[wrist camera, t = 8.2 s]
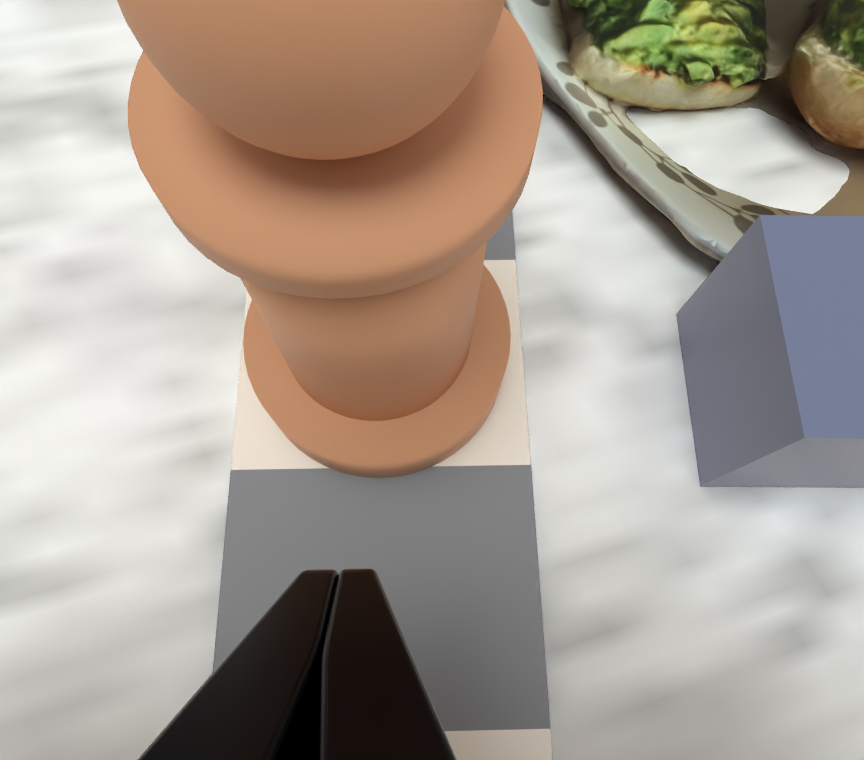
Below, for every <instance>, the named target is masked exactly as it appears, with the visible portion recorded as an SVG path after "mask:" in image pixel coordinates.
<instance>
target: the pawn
mask: <svg viewBox="0 0 864 760" xmlns="http://www.w3.org/2000/svg"><path fill="white" fill-rule="evenodd" d="M117 1H118V4H119V6H120V8H121V11H122V13H123V16H124V18H125V20H126V22H127V24H128V26H129V27H130V29H131V31H132V32H133V34H134V36H135V38H136V39H137V41H138V43H139V44H140V46H141V47H142V49H143V53H142V55H141V57H140V59H139V61H138V63H137V66H136V69H135V72H134V75H133V78H132V81H131V87H130V93H129V100H128V127H129V132H130V138H131V143H132V148H133V150H134V153H135V156H136V158H137V161H138V164H139V166H140V169H141V170H142V172H143V174H144V176H145V177H146V179H147V181H148V182H149V184H150V186H151V188H152V189H153V191H154V192H155V194H156V196H157V197H158V199H159V200H160V202H161V203H162V205H163V207H164V208H165V210H166V211H167V213H168V214H169V216H170V218H171V219H172V221H173V222H174V224H175V225H176V226H177V228H178V229H179V230H180V231H181V232H182V234H183V235H184V236H185V237H186V239H187V240H188V241H189V242H190V243H191V244H192V245H193V246H194V247H196V248H197V249H198V250H199V251H200V252H201V253H202V254H203V255H204V256H205V257H207V258H208V259H210V260H211V261H213V262H214V263H216V264H217V265H218V266H220V267H221V268H223V269H224V270H226V271H228V272H230V273H232V274H234V275H236V276H238V277H240V278H241V280H242V282H243V284H244V286H245V287H246V289H247V291H248V293H249V295H250V297H251V298H252V301H251V304H250V307H249V309H248V312H247V317H246V322H245V326H244V338H243V349H244V360H245V365H246V369H247V374H248V377H249V380H250V382H251V385H252V387H253V390H254V392H255V394H256V396H257V397H258V399H259V401H260V403H261V404H262V406H263V407H264V409H265V410H266V411H267V413H268V414H269V415H270V416H271V418H272V419H273V420H274V422H275V423H276V424H277V426H278V427H279V428H280V429H281V431H282V432H283V433H284V435H285V436H286V437H287V438H288V439H289V440H290V441H291V442H292V443H293V444H294V445H295V446H296V447H297V448H298V449H299V450H300V451H302V452H303V453H304V454H306V455H307V456H309V457H310V458H311V459H313V460H315V461H317V462H318V463H320V464H322V465H324V466H326V467H328V468H331V469H334V470H336V471H339V472H342V473H346V474H350V475H355V476H360V477H371V478H385V477H397V476H403V475H408V474H412V473H415V472H418V471H422V470H425V469H427V468H429V467H432V466H434V465H436V464H438V463H440V462H442V461H444V460H445V459H447V458H448V457H450V456H452V455H453V454H455V453H456V452H457V451H458V450H460V449H461V448H462V447H463V446H464V445H466V444H467V443H468V442H469V441H470V440H471V439H472V437H473V436H474V435H475V434H476V433H477V432H478V431H479V429H480V428H481V426H482V425H483V424H484V422H485V421H486V419H487V418H488V416H489V414H490V412H491V410H492V408H493V406H494V403H495V401H496V398H497V395H498V392H499V389H500V386H501V383H502V380H503V377H504V374H505V371H506V368H507V363H508V358H509V353H510V340H511V332H510V321H509V316H508V312H507V307H506V303H505V301H504V298H503V296H502V293H501V291H500V288H499V287H498V285H497V283H496V281H495V280H494V278H493V276H492V275H491V273H490V272H489V271H488V269H487V268H486V267H485V265H484V264H483V263H484V257H485V251H486V245H487V240H488V239H489V238H490V237H491V236H492V235H493V234H494V233H495V232H496V231H497V230H498V229H499V227H500V226H501V225H502V224H503V222H504V221H505V220H506V218H507V217H508V216H509V215H510V213H511V211H512V210H513V208H514V206H515V204H516V203H517V201H518V199H519V197H520V196H521V193H522V191H523V188H524V185H525V183H526V180H527V178H528V175H529V171H530V167H531V162H532V158H533V154H534V150H535V145H536V141H537V137H538V132H539V127H540V122H541V118H542V104H543V90H542V83H541V75H540V70H539V67H538V64H537V60H536V57H535V54H534V51H533V49H532V47H531V45H530V43H529V41H528V39H527V37H526V35H525V33H524V31H523V30H522V28H521V27H520V25H519V24H518V23H517V21H516V20H515V18H514V17H513V15H512V14H511V13H510V12H509V11H508V10H507V9H506V8H505V7H504V2H505V0H117Z"/></svg>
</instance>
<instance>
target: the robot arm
mask: <svg viewBox="0 0 864 760" xmlns="http://www.w3.org/2000/svg"><path fill="white" fill-rule="evenodd" d="M138 760H456V757H455V755H454V753H453V750H452V748H451V745H450V743H449V741H448V738H447V736H446V734H445V731H444V729H443V727H442V724H441V722H440V720H439V717H438V715H437V713H436V710H435V708H434V706H433V703H432V701H431V699H430V696H429V694H428V692H427V689H426V687H425V685H424V682H423V680H422V678H421V675H420V673H419V671H418V668H417V666H416V663H415V661H414V659H413V656H412V654H411V652H410V649H409V647H408V645H407V642H406V640H405V638H404V635H403V633H402V631H401V628H400V626H399V624H398V621H397V619H396V617H395V614H394V612H393V610H392V607H391V605H390V603H389V600H388V598H387V596H386V593H385V591H384V589H383V586H382V584H381V581H380V579H379V577H378V575H377V573H376V571H375V570H373V569H343V570H342V571H341V572H340V573H339V574H338V573H337V571H335V570H333V569H318V570H304V571H302V572H301V573H299V574H298V575H297V577H296V578H295V579H294V580H293V581H292V582H291V583H290V585H289V586H288V587H287V588H286V589H285V590H284V592H283V593H282V594H281V595H280V596H279V597H278V598H277V600H276V601H275V602H274V603H273V604H272V605H271V607H270V608H269V609H268V610H267V611H266V612H265V613H264V615H263V616H262V617H261V618H260V619H259V620H258V622H257V623H256V624H255V625H254V626H253V627H252V628H251V630H250V631H249V632H248V633H247V634H246V635H245V637H244V638H243V639H242V640H241V641H240V642H239V643H238V645H237V646H236V647H235V648H234V649H233V650H232V652H231V653H230V654H229V655H228V656H227V657H226V658H225V660H224V661H223V662H222V663H221V664H220V665H219V667H218V668H217V669H216V670H215V671H214V672H213V673H212V675H211V676H210V677H209V678H208V679H207V680H206V682H205V683H204V684H203V685H202V686H201V687H200V688H199V690H198V691H197V692H196V693H195V694H194V695H193V697H192V698H191V699H190V700H189V701H188V702H187V703H186V705H185V706H184V707H183V708H182V709H181V710H180V712H179V713H178V714H177V715H176V716H175V717H174V718H173V720H172V721H171V722H170V723H169V724H168V725H167V727H166V728H165V729H164V730H163V731H162V732H161V733H160V735H159V736H158V737H157V738H156V739H155V740H154V742H153V743H152V744H151V745H150V746H149V747H148V748H147V750H146V751H145V752H144V753H143V754H142V755H141V757H140V758H139V759H138Z"/></svg>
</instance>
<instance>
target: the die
mask: <svg viewBox="0 0 864 760" xmlns="http://www.w3.org/2000/svg"><path fill="white" fill-rule="evenodd" d="M676 315H677V322H678V330H679V337H680V344H681V351H682V358H683V366H684V373H685V380H686V387H687V394H688V402H689V409H690V416H691V423H692V430H693V437H694V445H695V452H696V459H697V466H698V473H699V481H700V486H705V487H834V488H864V216H806V215H759V217H758V218H757V219H756V220H755V221H754V223H753V224H752V225H751V226H750V227H749V229H748V230H747V231H746V232H745V233H744V235H743V236H742V237H741V238H740V239H739V240H738V242H737V243H736V244H735V245H734V246H733V248H732V249H731V250H730V251H729V252H728V254H727V255H726V256H725V257H724V258H723V260H722V261H721V262H720V263H719V264H718V266H717V267H716V268H715V269H714V270H713V271H712V273H711V274H710V275H709V276H708V277H707V279H706V280H705V281H704V282H703V283H702V285H701V286H700V287H699V288H698V289H697V291H696V292H695V293H694V294H693V295H692V296H691V298H690V299H689V300H688V301H687V302H686V304H685V305H684V306H683V307H682V308H681V310H680V311H679V312H678V313H677V314H676Z"/></svg>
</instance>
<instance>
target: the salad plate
mask: <svg viewBox="0 0 864 760" xmlns="http://www.w3.org/2000/svg"><path fill="white" fill-rule="evenodd" d="M504 7H505V8H506V9H507V10H508V11H509V12H510V13H511V14H512V15H513V17H514V18H515V20H516V21H517V23H518V24H519V25H520V27H521V28H522V30H523V31H524V33H525V35H526V37H527V39H528V41H529V43H530V45H531V47H532V49H533V51H534V54H535V57H536V60H537V64H538V67H539V70H540V75H541V83H542V90H543V94H544V95H545V96H546V97H548V98H549V99H550V100H551V101H553V102H554V103H556V104H557V105H559V106H560V107H562V108H563V109H564V110H565V111H566V112H567V113H568V114H569V115H570V116H571V117H572V118H573V119H574V121H575V122H576V123H577V124H578V125H579V127H580V128H581V129H582V130H583V131H584V132H585V133H586V134H587V136H588V137H589V138H590V140H591V141H592V142H593V144H594V145H595V147H596V148H597V150H598V151H599V152H600V153H601V154H602V155H603V156H604V157H605V158H606V160H607V161H608V163H609V164H610V166H611V167H612V168H613V170H614V171H615V172H616V173H617V174H618V175H619V176H620V177H622V178H623V179H624V180H625V181H626V182H627V183H628V184H629V185H630V186H631V187H632V188H633V189H634V190H635V191H637V192H638V193H639V194H640V195H641V196H642V197H644V198H645V199H646V200H647V201H648V202H649V203H651V204H652V205H653V206H654V207H655V208H657V209H658V210H659V211H660V212H662V213H663V214H664V215H665V216H666V217H667V218H668V219H669V220H671V221H672V223H673V224H674V225H675V226H676V227H677V228H678V229H679V230H680V232H681V233H682V234H683V236H684V237H685V238H686V239H687V240H688V241H689V242H690V243H691V244H692V245H693V246H694V247H696V248H697V249H699V250H700V251H702V252H704V253H705V254H707V255H709V256H711V257H713V258H715V259H717V260H719V261H722V260H723V258H724V257H725V256H726V255H727V254H728V252H729V251H730V250H731V249H732V248H733V246H734V245H735V244H736V243H737V242H738V240H739V239H740V238H741V237H742V236H743V235H744V233H745V232H746V231H747V230H748V229H749V227H750V226H751V225H752V224H753V223H754V221H755V220H756V219H757V218H758V217H759V215H806V216H864V0H505V2H504ZM631 106H635V107H644V108H647V109H649V110H651V111H656V112H658V111H668V110H672V109H677V110H698V109H706V108H715V107H721V106H722V107H735V108H757V109H760V110H763V111H765V112H766V113H768V114H770V115H772V116H775V117H777V118H779V119H781V120H784V121H786V122H788V123H791V124H794V125H796V126H798V127H799V128H800V129H802V130H804V131H807V133H808V135H809V137H810V140H811V143H812V144H811V146H812V147H814V148H815V149H816V150H818V151H820V152H822V153H825V154H828V155H830V156H833V157H835V158H838V159H840V160H842V161H843V162H845V163H846V165H847V166H848V168H849V170H850V173H849V177H848V180H847V182H846V183H845V184H844V185H842V187H841V189H840V191H839V192H838V193H837V194H836V196H835V197H834V198H832V199H831V200H830V201H829V202H828V203H827V204H826V205H825V206H823V207H822V208H821V209H820V210H819V211H818V212H816V213H814V214H807V213H801V212H795V211H789V210H783V209H777V208H772V207H768V206H765V205H761V204H758V203H755V202H752V201H750V200H748V199H746V198H743V197H741V196H738V195H735V194H732V193H729V192H727V191H724V190H721V189H718V188H716V187H714V186H713V185H711V184H709V183H707V182H705V181H704V180H702V179H700V178H699V177H697V176H695V175H694V174H692V173H691V172H690V171H689V170H688V169H687V168H685V167H683V166H680V165H678V164H677V163H675V162H674V161H673V160H672V159H671V158H669V157H668V156H667V155H666V154H665V153H664V152H663V151H662V150H661V149H660V148H659V147H658V146H657V145H656V144H655V143H654V142H653V141H651V140H650V139H649V138H648V137H647V136H646V135H645V134H644V133H643V132H642V131H641V130H640V129H639V128H638V127H637V126H636V125H635V124H634V123H633V122H632V121H631V120H630V119H629V118H628V116H627V115H626V113H625V111H626V110H627V109H628V108H629V107H631Z"/></svg>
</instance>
